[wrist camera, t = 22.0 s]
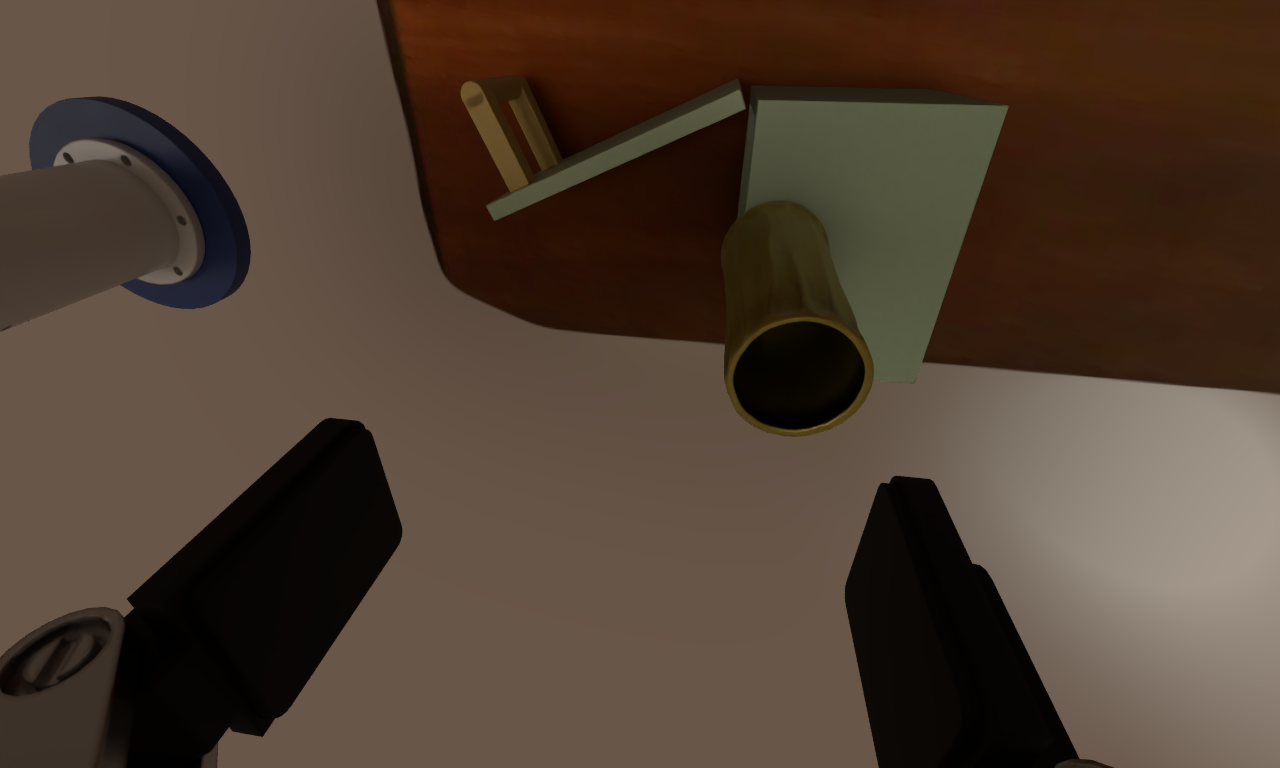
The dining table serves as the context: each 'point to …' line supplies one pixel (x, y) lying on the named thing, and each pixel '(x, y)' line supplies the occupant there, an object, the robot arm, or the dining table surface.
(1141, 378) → the dining table surface
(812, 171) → the cupboard
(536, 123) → the cupboard door
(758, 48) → the dining table surface
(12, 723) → the robot arm
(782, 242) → the vase
